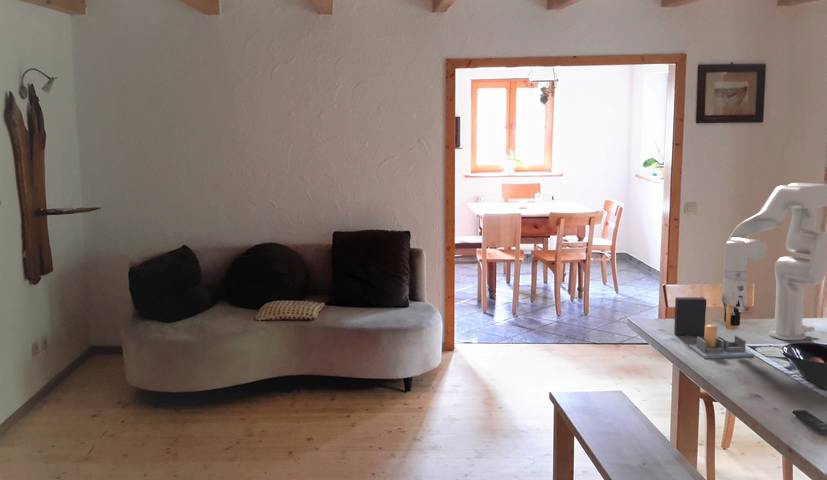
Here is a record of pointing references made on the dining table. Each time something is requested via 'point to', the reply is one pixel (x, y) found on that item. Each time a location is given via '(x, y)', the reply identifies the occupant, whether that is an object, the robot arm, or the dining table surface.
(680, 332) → the dark grey slab
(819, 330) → the dining table surface
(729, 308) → the tan capsule rod
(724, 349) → the housing
